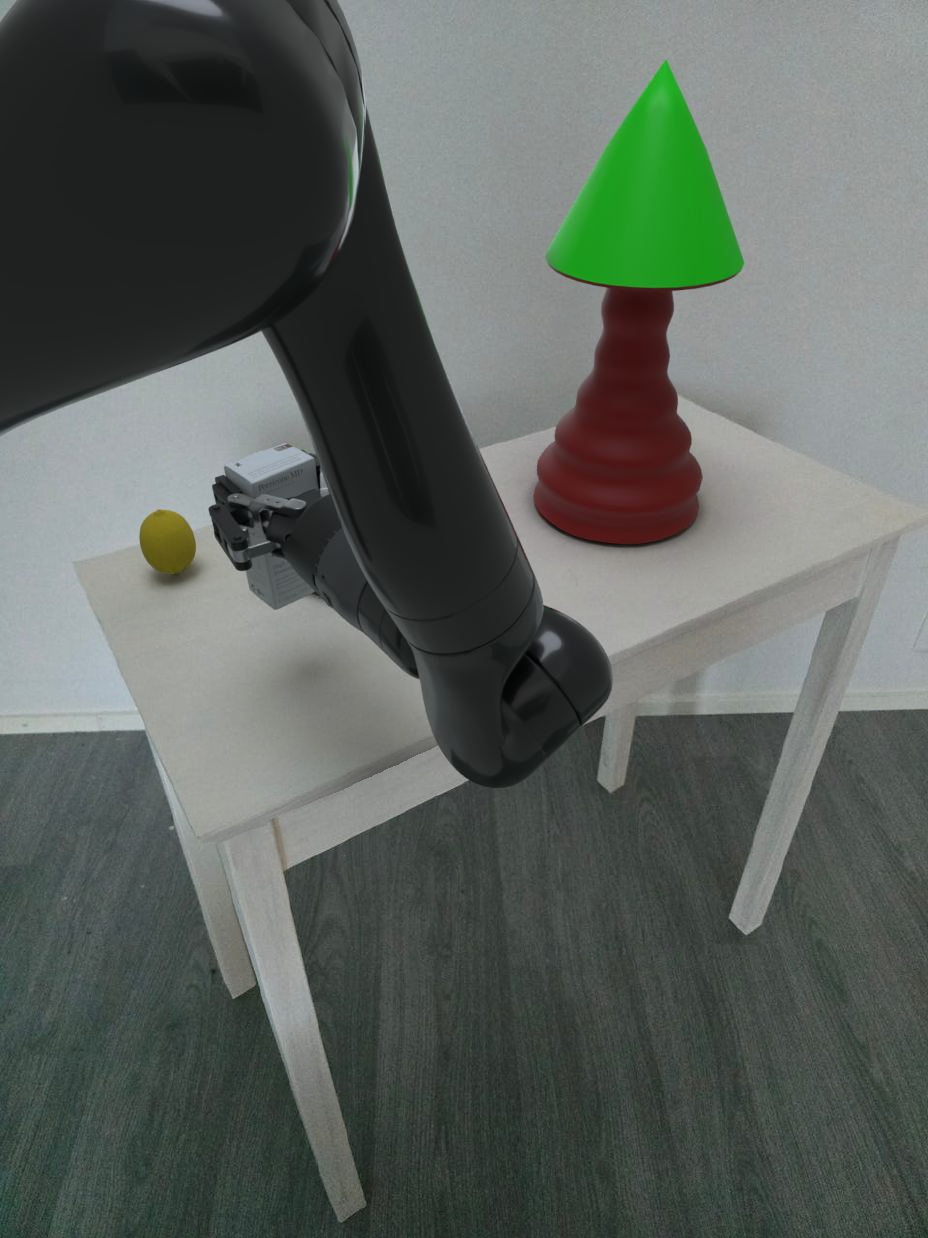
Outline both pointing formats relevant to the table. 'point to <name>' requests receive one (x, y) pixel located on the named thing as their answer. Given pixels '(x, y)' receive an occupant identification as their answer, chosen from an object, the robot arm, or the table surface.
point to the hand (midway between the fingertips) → (260, 473)
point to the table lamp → (636, 325)
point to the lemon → (167, 541)
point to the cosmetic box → (280, 477)
